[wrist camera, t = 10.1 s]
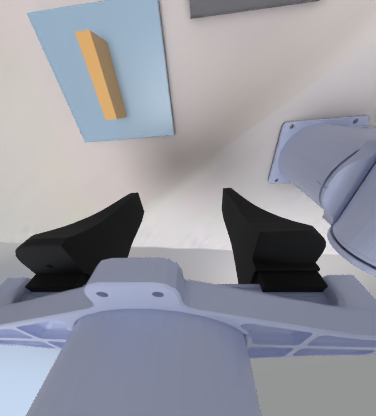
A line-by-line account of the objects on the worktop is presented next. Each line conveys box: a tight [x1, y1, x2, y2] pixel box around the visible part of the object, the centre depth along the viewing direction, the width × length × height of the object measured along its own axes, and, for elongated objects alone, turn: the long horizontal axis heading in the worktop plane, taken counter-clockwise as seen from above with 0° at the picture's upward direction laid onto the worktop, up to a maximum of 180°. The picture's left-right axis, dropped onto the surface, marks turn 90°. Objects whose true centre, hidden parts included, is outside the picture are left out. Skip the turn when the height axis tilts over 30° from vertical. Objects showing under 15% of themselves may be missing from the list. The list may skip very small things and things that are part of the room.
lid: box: [27, 0, 175, 142], centre depth 15 cm, size 12×11×4 cm
